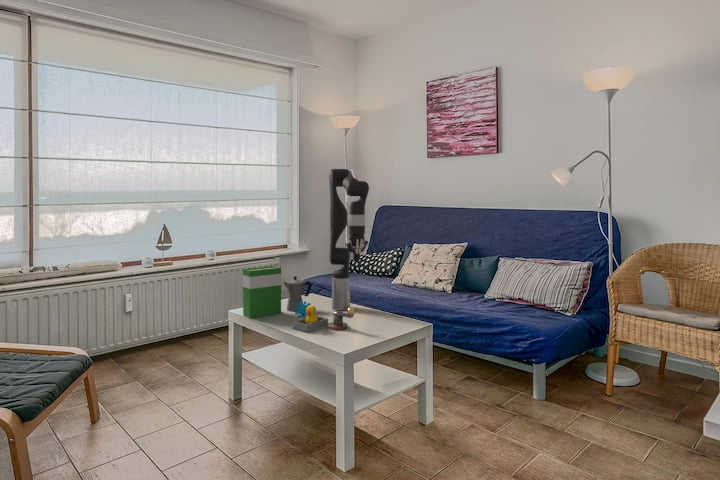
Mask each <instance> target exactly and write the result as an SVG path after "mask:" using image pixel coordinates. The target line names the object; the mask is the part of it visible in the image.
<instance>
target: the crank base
mask: <svg viewBox="0 0 720 480" xmlns="http://www.w3.org/2000/svg"><path fill="white" fill-rule="evenodd" d="M348 325H349V324H348V323H347V322H344V317H343V316H335V315H333V320H332V321H331V322H330V323H329V322H328V326H327V327H328V329H329V330H332V331H344V330H348Z"/></svg>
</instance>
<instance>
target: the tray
mask: <svg viewBox="0 0 720 480" xmlns="http://www.w3.org/2000/svg"><path fill="white" fill-rule="evenodd" d="M306 318H307V317H305V318H299V319H296V320H293V321H292V329H293V330H295V331H300V332H304V333H310V332H312V331H317V330H320V329H324V328H326V327H328V324H329V318H327V317H322V316H318V315H317V322H314V323H310V324H306Z"/></svg>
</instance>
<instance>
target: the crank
mask: <svg viewBox="0 0 720 480" xmlns="http://www.w3.org/2000/svg"><path fill="white" fill-rule="evenodd" d="M332 313H333V315H335V316H343V318H347V319H352V318H354V316H355V308H354V307H350V308H348V309H347V312H344V311H343V310H335V311H333V312H332Z"/></svg>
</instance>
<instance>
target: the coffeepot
mask: <svg viewBox="0 0 720 480" xmlns="http://www.w3.org/2000/svg"><path fill="white" fill-rule="evenodd" d="M297 278H298V277H297V276H293V279H292V280H287V281H283V282H282V283H283V285H284V286H285V287H286V289H287V294H288V299H287V304H286V310H287V311H289V312H296V311H295V310H294V309H295V307H296V304H298V306H299V307H300V304H299V302H302V304H301V305H303V304H304V301H303V297H302V295H303V290H304V286H306V285H308V286H307V290H306V294H304V295H303V296H304V297H308V296H309V294H310V291H311V289H312V285H313V284H312V283H311V281H309V280H306V281H305V280H299V279H297ZM296 308H297V309H299V308H298V307H296Z"/></svg>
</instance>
